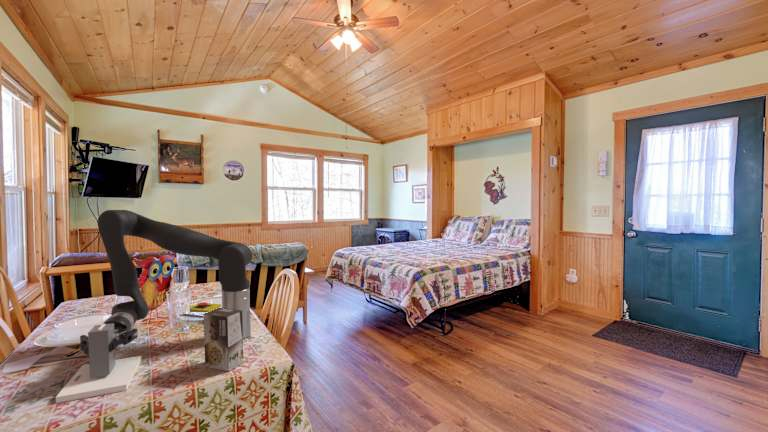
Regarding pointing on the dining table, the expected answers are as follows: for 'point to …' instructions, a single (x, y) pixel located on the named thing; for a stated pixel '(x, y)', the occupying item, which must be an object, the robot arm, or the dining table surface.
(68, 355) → the dining table surface
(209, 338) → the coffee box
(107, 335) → the tall gray prism
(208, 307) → the emergency button
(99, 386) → the shaft base
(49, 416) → the dining table surface
